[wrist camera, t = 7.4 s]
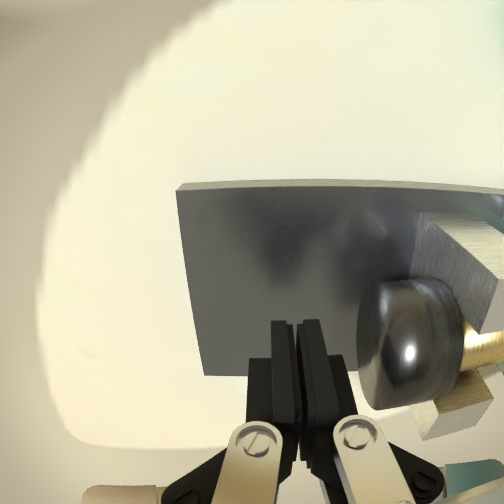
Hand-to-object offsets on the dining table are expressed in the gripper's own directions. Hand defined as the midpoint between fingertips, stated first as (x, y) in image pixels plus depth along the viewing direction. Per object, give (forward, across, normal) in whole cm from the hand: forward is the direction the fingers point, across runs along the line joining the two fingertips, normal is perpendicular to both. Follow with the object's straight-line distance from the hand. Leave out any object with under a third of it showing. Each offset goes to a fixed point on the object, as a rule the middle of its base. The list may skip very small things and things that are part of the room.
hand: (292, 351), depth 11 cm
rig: (+5, -9, 0) cm, 10 cm away
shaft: (+2, -11, 0) cm, 11 cm away
